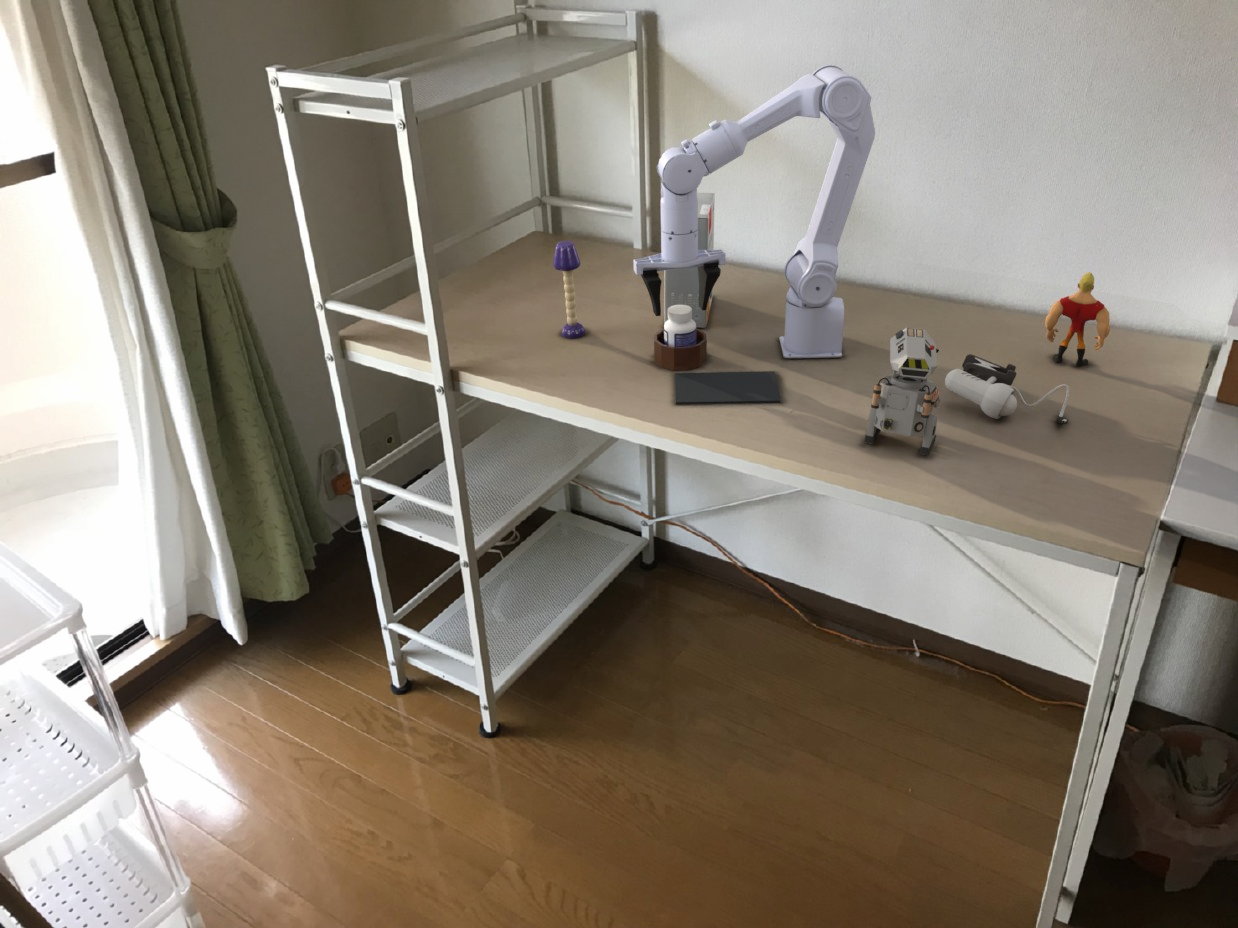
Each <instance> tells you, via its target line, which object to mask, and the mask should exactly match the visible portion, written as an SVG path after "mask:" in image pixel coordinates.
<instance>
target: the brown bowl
mask: <svg viewBox="0 0 1238 928" xmlns="http://www.w3.org/2000/svg"><path fill="white" fill-rule="evenodd" d="M653 351H654V354H653V356H654V359H653V360H654V363H655V364H656V365H657V366H658V367H660V368H661V369H665V370H670V371H690V370H693V369H698V368H701V367H702V366H703V365H704V364H705V363H707V361H708V337H707V333H706V332H705V331H703V330H701V329H700V328H698V327H696V344H695V345H692V346H688V347H672V346H667V345H664V328H662V329H660V330H659V331H657V332H656V333H655V334H654V335H653Z"/></svg>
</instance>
